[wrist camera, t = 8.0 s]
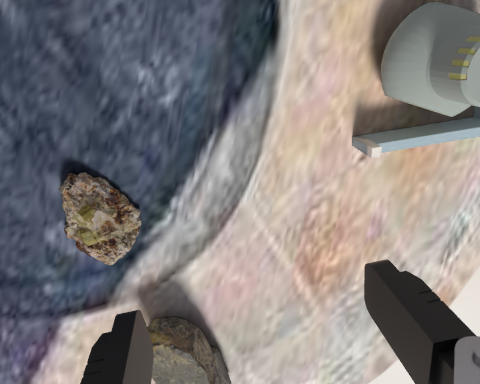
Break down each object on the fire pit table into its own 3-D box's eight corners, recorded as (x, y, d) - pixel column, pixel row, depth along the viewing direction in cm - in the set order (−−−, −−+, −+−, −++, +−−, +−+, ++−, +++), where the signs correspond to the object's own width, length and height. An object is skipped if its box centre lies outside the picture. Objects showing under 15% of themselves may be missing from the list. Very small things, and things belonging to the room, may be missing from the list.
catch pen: (354, -25, 31) (379, -34, 27) (508, -44, 32) (554, -56, 28) (352, 145, 38) (371, 158, 34) (479, 124, 39) (513, 134, 35)
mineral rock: (158, 248, 37) (87, 285, 35) (153, 233, 41) (88, 266, 39) (111, 159, 33) (27, 196, 31) (110, 152, 37) (35, 184, 35)
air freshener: (356, 86, 35) (414, 103, 26) (392, -2, 32) (471, -18, 23) (442, 114, 38) (523, 138, 29) (483, 35, 35) (586, 34, 26)
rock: (104, 363, 40) (170, 340, 36) (127, 315, 45) (186, 291, 42) (192, 435, 46) (255, 422, 43) (202, 385, 52) (258, 370, 48)
